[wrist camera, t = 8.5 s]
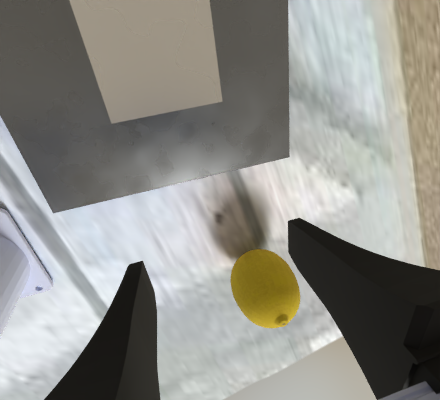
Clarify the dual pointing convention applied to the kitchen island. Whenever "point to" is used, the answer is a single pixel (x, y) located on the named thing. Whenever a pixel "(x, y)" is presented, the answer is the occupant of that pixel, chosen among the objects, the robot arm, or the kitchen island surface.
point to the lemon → (265, 288)
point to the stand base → (147, 126)
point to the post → (150, 54)
